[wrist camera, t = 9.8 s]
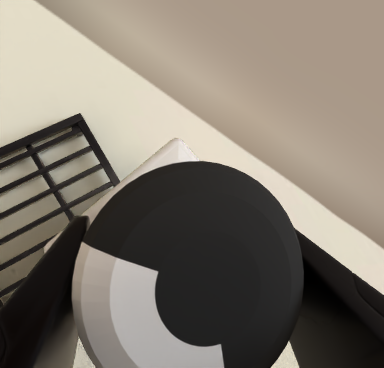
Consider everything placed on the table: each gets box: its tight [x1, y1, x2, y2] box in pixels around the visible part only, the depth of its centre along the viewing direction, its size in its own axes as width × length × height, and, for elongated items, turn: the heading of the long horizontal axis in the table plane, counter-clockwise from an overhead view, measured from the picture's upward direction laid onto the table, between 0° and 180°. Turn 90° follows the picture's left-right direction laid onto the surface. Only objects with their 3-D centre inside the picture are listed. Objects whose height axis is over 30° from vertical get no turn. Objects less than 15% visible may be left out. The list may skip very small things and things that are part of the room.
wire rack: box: [0, 113, 120, 309], centre depth 19 cm, size 16×12×2 cm
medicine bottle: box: [44, 138, 304, 368], centre depth 11 cm, size 7×7×12 cm
